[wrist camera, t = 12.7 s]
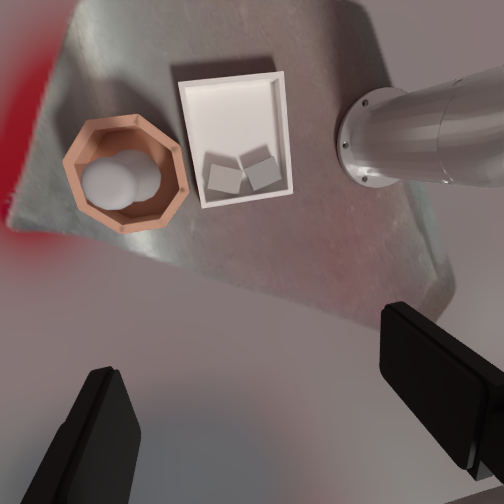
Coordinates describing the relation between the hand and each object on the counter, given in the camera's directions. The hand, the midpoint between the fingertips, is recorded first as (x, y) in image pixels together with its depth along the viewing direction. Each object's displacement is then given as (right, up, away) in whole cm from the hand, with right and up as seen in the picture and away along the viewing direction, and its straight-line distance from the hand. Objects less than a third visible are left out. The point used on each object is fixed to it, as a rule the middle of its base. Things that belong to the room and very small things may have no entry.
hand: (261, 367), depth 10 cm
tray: (-2, +18, +26) cm, 32 cm away
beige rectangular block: (-4, +14, +27) cm, 31 cm away
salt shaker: (-14, +13, +25) cm, 31 cm away
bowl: (-14, +14, +25) cm, 32 cm away
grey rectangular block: (+1, +14, +28) cm, 31 cm away
